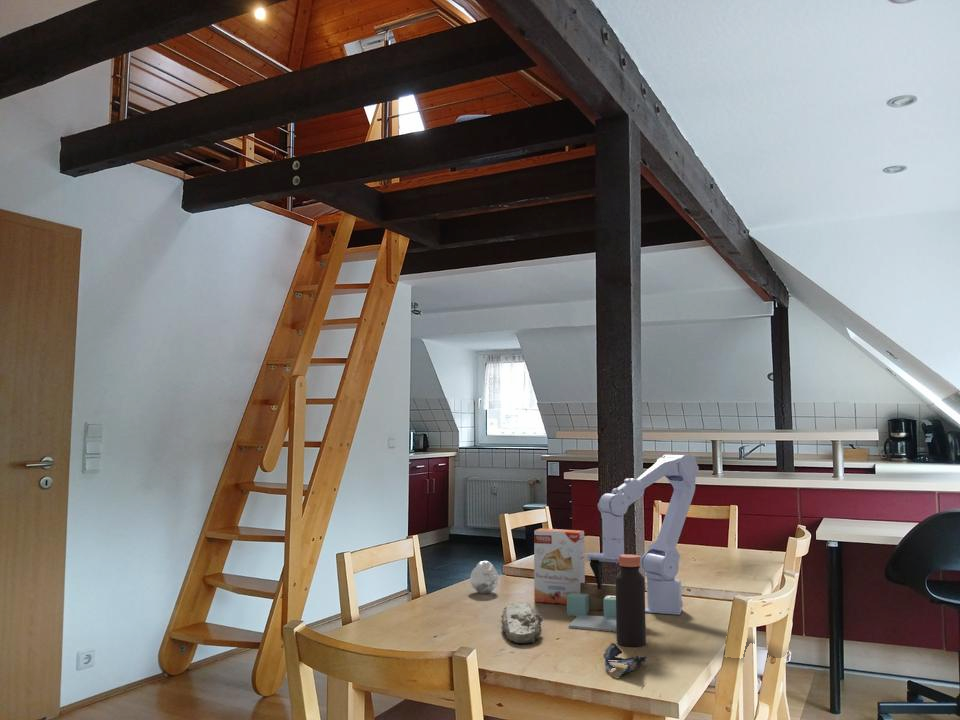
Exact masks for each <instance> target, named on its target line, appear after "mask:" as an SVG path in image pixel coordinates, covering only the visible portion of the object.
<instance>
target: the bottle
mask: <svg viewBox="0 0 960 720" xmlns="http://www.w3.org/2000/svg"><path fill="white" fill-rule="evenodd" d="M624 554H625V553H624ZM640 556H641V555H637V554H631V553H630V554H629V553H628V554H625V555H620V556H619V562H618V565H619V568H620V571H619V572H618V573H617V574H616V576H615V585H616V632H615V633H616V643H618V645H621V646H625V647H636V648H637V647H642V646H644V645H646V643H647V642H646V641H647V634H646V629H647V628H646V612H645V609H646V588H645V586H646V585H645V584H646V583H645V577H644V575H643V574H641V572H640V568H641V564H640Z"/></svg>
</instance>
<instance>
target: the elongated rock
mask: <svg viewBox="0 0 960 720" xmlns="http://www.w3.org/2000/svg"><path fill="white" fill-rule="evenodd" d="M502 613H503V614H502V615H501V618H502V619H501V628H502V630H503V632H505V635H506V637H507V639H508V640H509V641H510V642H511V641H512V642H513V643H515V644H528V643H532V644H533V643H534V642H536V640H540V637H541V633H542V623H541V622H542V621H543V616H542V614H540V613H536V611H535V609H534V608H531V604H530V603H527V602H515V603H514V602H512V603H510V604H507V605H505V607H504V609H503V611H502Z"/></svg>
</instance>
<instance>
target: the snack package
mask: <svg viewBox="0 0 960 720" xmlns="http://www.w3.org/2000/svg"><path fill="white" fill-rule="evenodd" d="M622 653H623V652H622V649H620V647H619V645H618V644H617V643H614V642H611V643H610V644H609V645H608V646H607V648H606V649H605V651H604V654H603V659H604V660H605V661H604V665H605V669H606V670H607V672H608V673H609V671H611V669H612V668H615V667H613V666H614V665H613V664H611V665H610V663H609V662H613V663H621V664H624V665H628V666H627V667H625V668H624V670H623V671H622V672H620V673H619V674H615V675H611V677H613V678H614V677H619V678H620V677H621V676H622V675H624V674H627V673H630V672H632V671H635V670H637V669H638V667H639V666H640V665H641V664H642V663H646V660H647V656H643V657H642V656H638V655H636V656H632V657H627V658H623V657H618V656H619V655H621V654H622ZM634 654H636V652H635V651H634ZM608 660H617V661H608ZM612 665H613V666H612Z"/></svg>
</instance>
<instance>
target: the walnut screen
mask: <svg viewBox="0 0 960 720" xmlns="http://www.w3.org/2000/svg"><path fill="white" fill-rule="evenodd" d="M580 594H589V611H601V610H603V612H604V603H603V599H604V598H605V597H606V596H616V584H608V583H607V584H606V583H602V588H601V589H598V586H597V583H594V582H593V583H590V582H585V583H580Z"/></svg>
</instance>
